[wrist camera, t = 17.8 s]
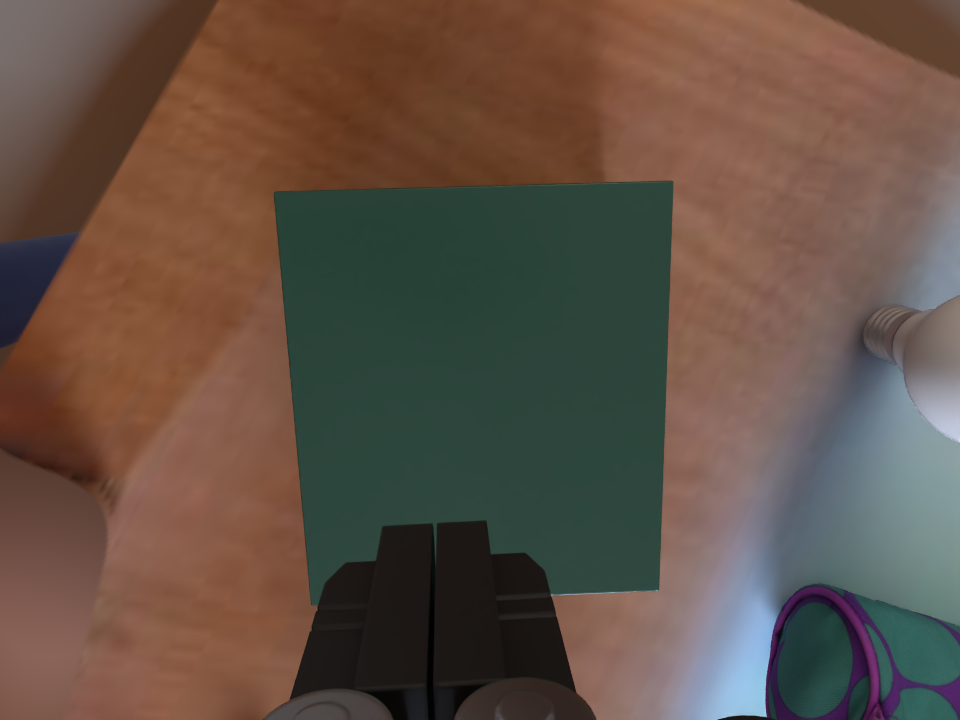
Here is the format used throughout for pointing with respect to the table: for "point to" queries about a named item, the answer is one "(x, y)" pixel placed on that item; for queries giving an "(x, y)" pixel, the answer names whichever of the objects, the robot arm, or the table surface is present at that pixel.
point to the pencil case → (860, 660)
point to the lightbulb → (923, 357)
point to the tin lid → (482, 370)
